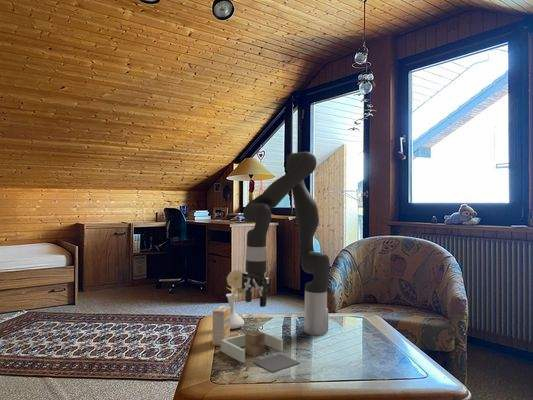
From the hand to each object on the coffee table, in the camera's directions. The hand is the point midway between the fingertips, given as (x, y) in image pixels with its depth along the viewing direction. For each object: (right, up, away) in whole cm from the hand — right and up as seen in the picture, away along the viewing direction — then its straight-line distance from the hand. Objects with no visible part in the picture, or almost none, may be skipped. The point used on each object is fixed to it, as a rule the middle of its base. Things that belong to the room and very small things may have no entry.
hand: (255, 304), depth 143 cm
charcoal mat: (+7, -17, -9) cm, 21 cm away
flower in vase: (-11, -18, +29) cm, 35 cm away
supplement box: (-13, -17, +10) cm, 24 cm away
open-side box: (-1, -17, +1) cm, 17 cm away
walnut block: (0, -17, 0) cm, 17 cm away
